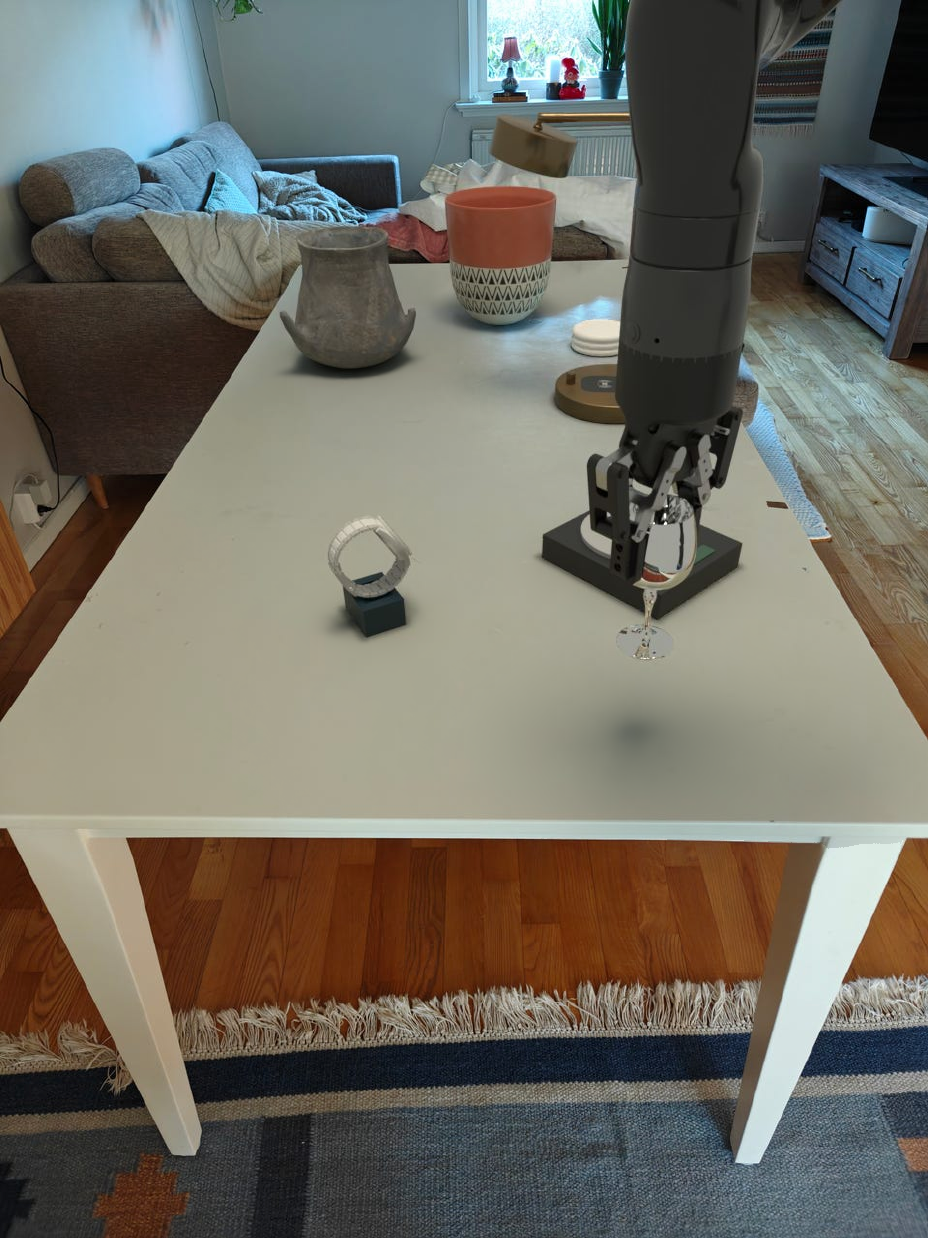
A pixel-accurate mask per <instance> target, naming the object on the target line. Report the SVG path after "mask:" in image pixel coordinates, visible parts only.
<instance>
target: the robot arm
mask: <svg viewBox="0 0 928 1238" xmlns="http://www.w3.org/2000/svg"><path fill="white" fill-rule="evenodd" d="M843 1H844V0H629V5H628V10H627V18H626V25H625V37H624V38H625V39H624V65H625V81H626V82H625V83H626V93H627V102H628V112H629V115H630V122H629V125H630V135H631V142H632V148H633V154H634V160H635V167H636V182H635V189H634V197H633V206H632V220H631V231H630V232H631V233H630V245H629V257H628V263H627V264H628V265H627V269H626V273H625V274H626V275H625V279H624V283H623V289H622V296H621V305H620V318H619V320H620V321H619V322H620V332H619V346H618V355H617V361H616V364H617V373H616V386H615V399H616V402H617V404H618V406H619V407H620V409H621V410H622V412H623V414H624V416H625V419H626V423H624V424H625V425H624V429H623V431H622V435H621V437H620V440H619V443H618V448H617V449H616V450H614V451H613V452H612V453H610V454H609V455H607V456H603V455H602V454H599V453H593V454H591V455H590V457H588V459H587V462H586V480H587V493H588V509H589V510H588V511H589V512H590V527H591V530H592V531H594V532H596V533H598V534H601V535H603V536H605V537H607V538H609V539H611V540H612V545H611V557H610V560H611V561H610V571H611V573H612V574H613V575H614V576H615V577H616V578H618V579H620V580H622V581H624V582H626V583H628V584H630V585H633V584H635V583H636V582H638V581H640V580H641V577H642V568H643V559H644V550H645V541H646V538H644V536H645V534H646V531H647V529H648V526H649V523H650V521H651V518H652V515H653V513H654V512H655V511H658V510H660V509H661V508H662V507H663V505H664V502H665V499H666V497H667V494H669V491H670V489H671V487H672V491H673V494H674V495H676V496H679V497H681V498H683V499H685V500H686V501H688V502H689V503H690V504H691V505H692V506H693V509H694V514H695V521H696V530H697V536H698V532H699V524H700V525H701V518H702V512H703V511H702V510H703V506H704V505H706V504H707V503H708V502H709V500H710V497H711V495H712V492H711V491H712V490H713V489H717V490H720V489H721V488H723V487H724V486H725V484H726V481H727V478H728V474H729V469H730V466H731V462H732V459H733V454H734V450H735V446H736V443H737V438H738V434H739V431H740V426H741V423H742V419H743V415H744V411H743V408H741V407H738V406H734V405H733V404H734V400H735V395H736V391H737V390H736V388H737V382H738V376H739V371H740V364H741V359H742V353H743V346H744V340H745V332H746V327H747V321H748V315H749V309H750V303H751V301H750V300H751V290H752V289H751V288H752V264H753V256H754V255H753V254H754V250H755V242H756V238H757V230H758V226H759V218H760V212H761V206H762V199H763V190H764V181H765V179H764V178H765V164H764V158H763V156H762V153H761V151H760V150H759V149H758V147H757V146H756V145H754V143H753V132H754V130H753V129H754V120H755V107H756V97H757V84H758V75H759V72H761V71H763V69H766V68H767V67H768V66H770V65H771V64H773V63H774V62H775V61H777V60H778V59H779V58H780V57H782V56H783V55H784V54H785V53H786V52H788V51H789V50H791V48H793V47H794V46H795V45H797V43H799V42H800V41H801V40H802V39H803V38H805V37H806V36H807V35H808V34H809V33H810V32H811V31H812V30H814V29H815V27H817V26H818V25H819V24H820V23H821V22H822V21H823V20H824V19H825V18H826V17H827V16H829V15H830V14H831V13H832V11H834V10H835V9H836V8H837V7H838V6H839V5H840V4H841V3H842V2H843ZM710 454H712V455H715V456H716V457H715V458H716V461H715V466H714V468H713V465H712V460H711V455H710ZM634 481H635V482H636V483H637V484H639V485H642V486H644V487H646V488H649V489H651V491H650V492H649V493H650V494H649V495H647V493H645V492H642V491H640V490H637V489H635V487H634V484H633V482H634ZM631 503H634V504H636V505H637V506H638V512H637V515H636V518H635V520H634V521H632V520H630V508H629V506H630V504H631ZM607 512H608V513H610V517H607Z"/></svg>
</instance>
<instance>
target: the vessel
mask: <svg viewBox="0 0 928 1238" xmlns="http://www.w3.org/2000/svg"><path fill="white" fill-rule="evenodd" d="M295 241H296V245H297V247H298V250H299V254H300V259H301V260H300V261H301V280H300V285H299V291H298V296H297V304H296V312H295V320H293V318H292V317H291V316H290V315H289V313H288V312H287V311H285V310H284V309H281V310H280V311H279V318H280V320H281V322H282V324H283V326H284V328H285V330H286V332H287V333H288V334H289V336H290V337H291V339H292V341H293V343H294V345H295V347H296V348H297V349H298V350H299V351H300V353H302V354H303V355H304V356H305V357H306V358H308V359H310V360H312V361H314V362H316V363H319V364H322V365H324V366H328V367H333V368H338V369H361V368H369V367H371V366H375V365H378V364H382V363H383V362H386V361H387V360H389V359H392V358H393V357H394V356H397V354H398V353H399V352H400V351H401V350H402V349H404V347H405V346H406V344H407V343H408V341H409V339H410V337H411V335H412V333H413V330H414V327H415V322H416V316H417V312H416V311H417V310H416V308H414V307H411V308H409V309H407V314H405V311H404V308H403V305H402V302H401V300H400V298H399V294H398V291H397V287H396V283H395V279H394V275H393V272H392V269H391V267H390V263H389V253H388V251H389V250H388V244H389V233H388V231H386V230H385V229H383V228H381V227H375V226H370V227H368V226H362V225H355V226H353V225H351V226H350V225H338V226H329V227H326V228H318V229H313V230H307V231H303V232H301V233H299V234H298V235H296V237H295Z"/></svg>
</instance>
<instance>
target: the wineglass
mask: <svg viewBox="0 0 928 1238" xmlns="http://www.w3.org/2000/svg"><path fill="white" fill-rule="evenodd" d="M650 493H651V492H648V493H647V492H646V494H647V495H649V494H650ZM629 508H630V520H632V521H634V520H635V518H636V515H637V512H638V506H637V505H636V504H634V503H631V504H630V506H629ZM644 538H646V541H645V550H644V559H643V568H642V577H641V580H640V581H638V582H636V583H635V584H633V585H635V586H637V587H639V588H642V589H645V590H644V593H643V597H644V601H645V613H644V617H643V618H644V619H643V624H631V625H629V626H626V627H624V628H623V629H621V630H620V631H619V632H618V634H617V636H616V638H615V643H616V646H617V648H618V649H619V650H620V651H621V652H622V653H623V654H625V655H626V656H628V657H630V658H633V659H636V660H640V661H656V660H661V659H663V658H665V657H667V656H668V655H670V654H671V653H672V652H673V650H674V646H675V645H674V644H675V643H674V640H673V638H672V636H671V635H670V634H669V633H668V632H667V631H666V630H664V629H662V628H660V627H658V626H654V625H651V617H652V616H651V611H652V608H653V605H654V602H655V601H656V598H657V590H665V589H669V588H672V587H674V586H676V585H678V584H680V583H681V582H682V581H683V580H684V579H685V578H686V577H687V576H688V575H689V573H690V571H691V569H692V567H693V564H694V561H695V557H696V551H697V530H696V521H695V514H694V509H693V506H692V505H691V504H690V503H689V502H688V501H686V500H685V499H683V498H681V497H679V496H678V495H676V494H672V493H671V494H670V493H668V494H667V497H666V499H665V502H664V505H663V507H662V508H661V509H660V510H658V511H655V512H654V513H653V515H652V518H651V521H650V523H649V526H648V529H647V531H646V534H645V536H644Z"/></svg>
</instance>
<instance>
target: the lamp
mask: <svg viewBox="0 0 928 1238" xmlns="http://www.w3.org/2000/svg"><path fill="white" fill-rule="evenodd" d="M564 123H630V115H629V111H628V112H627V111H626V112H625V111H624V112H623V111H621V112H620V111H619V112H616V111H615V112H613V111H612V112H610V111H609V112H604V111H603V112H563V111H559V112H558V111H557V112H553V111H552V112H548V111H547V112H537V120H534V119H529V118H526V117H522V116H518V115H515V114H507V113H499V114H497V116H496V119H495V124H494V127H493V130H492V131H493V132H492V135H491V138H490V139H491V140H490V142H489V147H488V153H489V155H491V156H492V157H493V158H495V159H497V160H498V161H500V162H502V163H505V164H507V165H509V166H511V167H513V168H517V169H519V170H523V171H526V172H528V173H532V174H536V175H539V176H543V177H548V178H549V177H550V178H555V179H565V178H567V177H568V175H569V171H570V168H571V165H572V161H573V159H574V156H575V152H576V150H577V149H576V148H577V146H578V143H579V142H578V141H579V140H578V139H577V138H576V137H574V136H573V135H571V134H569V133H568V132H565V131H563V130H561V129H559V128H557V127H553V126H551V125H548V124H564ZM616 373H617V363H600V364H590V365H584V366H583V365H582V366H579V367H575V368H573V369H569V370H567V371H565V372H564V373H562V374H560V375H559V376H558V377H557V379H556V380H555V385H554V402H555V405H556V406H557V407H558V408H559V409H560V410H561V411H562V412H564V413H565V414H566V415H568V416H571V417H573V418H577V419H580V420H582V421H587V422H593V423H597V424H598V423H599V424H613V425H614V424H615V425H616V424H617V425H619V424H621V425H622V424H626V419H625V416H624V414H623V412H622V410H621V409H620V407H619V406H618V404H617V402H616V399H615V386H616Z"/></svg>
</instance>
